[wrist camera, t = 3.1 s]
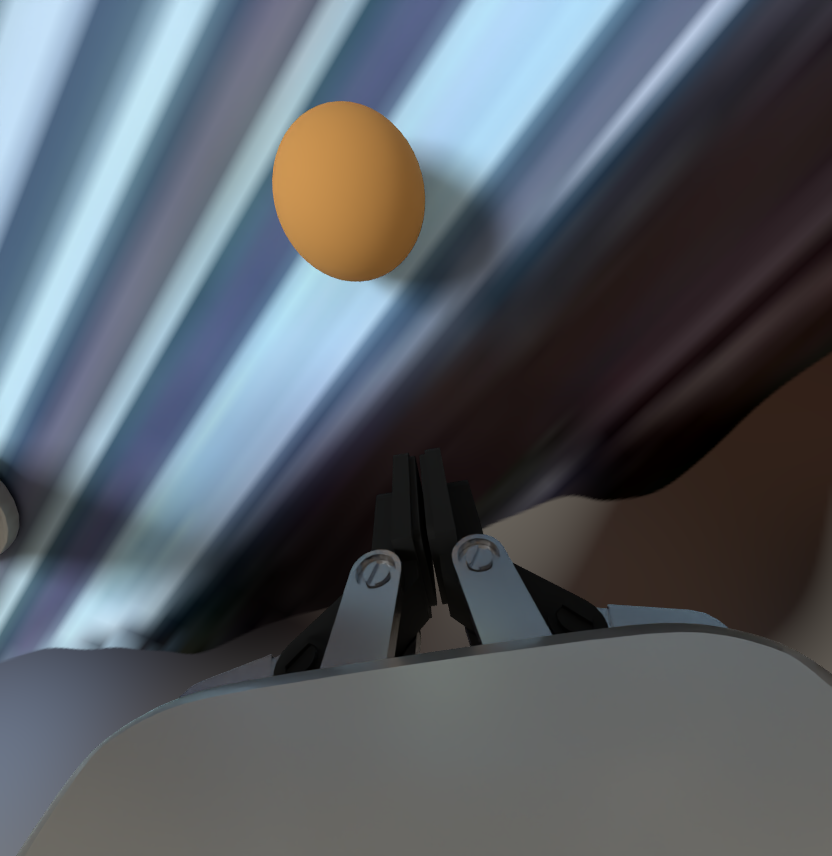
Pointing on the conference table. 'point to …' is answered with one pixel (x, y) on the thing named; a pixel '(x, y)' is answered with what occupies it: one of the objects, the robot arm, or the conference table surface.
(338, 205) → the ball
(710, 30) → the conference table surface
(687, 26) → the conference table surface
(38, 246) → the conference table surface
